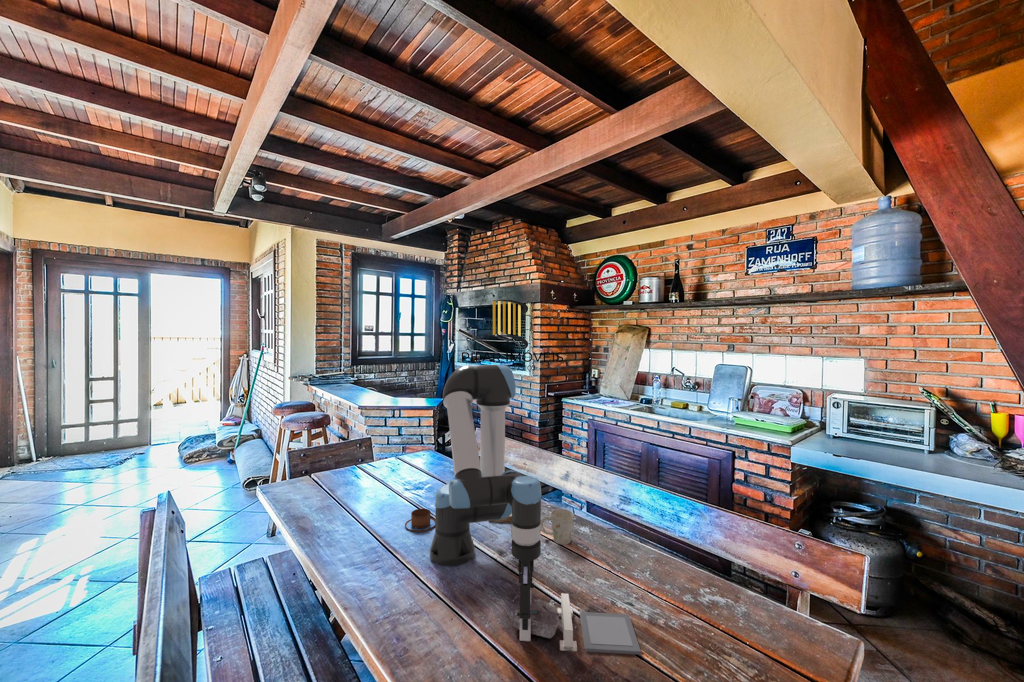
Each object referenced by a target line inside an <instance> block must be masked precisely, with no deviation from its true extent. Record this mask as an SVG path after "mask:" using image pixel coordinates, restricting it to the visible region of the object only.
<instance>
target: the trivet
mask: <svg viewBox="0 0 1024 682" xmlns="http://www.w3.org/2000/svg"><path fill="white" fill-rule="evenodd" d="M579 618H580V623H581V624H580V625H581V631H582V638H583V645H584V650H585V652H586V653H601V654H621V655H639V656H641V655H642V650H641V646H640V644H639V642H638V638H637V636H636V635H637V634H636V632H635V629H634V626H633V622H632V620H631V617H630V614H629V613H608V612H587V611H580V612H579Z"/></svg>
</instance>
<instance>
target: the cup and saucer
mask: <svg viewBox="0 0 1024 682" xmlns="http://www.w3.org/2000/svg"><path fill="white" fill-rule="evenodd" d="M431 514H432V513H431V510H430V509H429V508H417V509H414V510H412V511H411V517H410V519H408V520H406V522H405V523H404V524H405V525H404V526H405V529H406V530H408V531H410V532H414V533H422V532H423V533H425V532H428V531H430V530H432V529H434V528H435V525H433V526H431V527H429V526H430V524H431V520H432V521H433V522H434V523H435V518H434V517H431ZM410 522H411V526H412V527H413V528H414V529H409V528H408V527H407V525H408V523H410ZM428 527H429V528H428ZM426 528H427V529H426ZM415 529H418V530H415Z"/></svg>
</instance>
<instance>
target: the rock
mask: <svg viewBox="0 0 1024 682" xmlns="http://www.w3.org/2000/svg"><path fill="white" fill-rule="evenodd" d="M530 612H531V635H533V636H534V635H535V636H537V637H542V638H546V639H550V640H551V639H552V638H553V637H554V636H555V634H556V632H557V629H558V626H559V620H560V619H559V617H560V616H559V613H557V612H556V611H553V610H551V609H548V608H547V606H545V605H544V604H542V603H533V604H532V603H531V605H530ZM517 613H520V609H516V610H515V611H514V616H513V619H512V624H513V627H515V628H516V629H517V630H519V631H520V617H519V616H517Z"/></svg>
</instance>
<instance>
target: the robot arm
mask: <svg viewBox="0 0 1024 682" xmlns="http://www.w3.org/2000/svg"><path fill="white" fill-rule="evenodd" d="M516 393H517V388H516V380H515V376H514V374H513V371H512V369H511V367H509V365H502V364H485V365H484V364H483V365H482V364H481V365H479V364H478V365H471V364H469V365H463V366H461V367H459V368H458V369H457V368H456V369H455V370H454V371H453V372H452V373H451V374H450V376H449V377H448V378H447V379H446V383H445V384H444V387H443V391H442V403H443V407H445V408H446V409H447V410H446V411H447V418H448V428H449V435H450V444H451V453H452V454H451V455H452V464H453V470H454V471H453V472H454V479H451V480H450V481H449V483H446V484H445V485H443V486H441V487H439V488H438V490H437V491H436V493H435V499H434V500H435V503H434V507H435V518H434V519H435V522H434V526H435V527H434V528H435V529H434V531H435V533H434V536H433V539H432V541H431V546H430V548H429V559H430V560H431V561H432V562H433V563H434V564H436V565H440V566H444V567H456V566H460V565H464V564H466V563H469V561H471V560H473V558H474V556H475V555H476V554H475V551H476V550H475V549H476V547H475V544H474V539H473V537H472V534H471V533H472V532H471V531H470V529H471V527H470V526H471V524H473V523H484V522H494V521H493V520H496V521H497V520H500V519H505V518H508V517H509V516H512V522H510V523H511V532H510V533H511V555H512V557H513V558H515V559H516V560H518V563H517V571H518V583H519V584H520V585H519V588H520V589H519V596H520V597H519V610H520V613H517V616H519V617H520V630H519V642H520V641H521V642H531V641H532V640H531V635H532V634H531V612H530V605H532V589H534V587H535V584H534V583H533V573H534V569H535V568H534V563H535V562H534V561H535V560H537V559H538V558H539V557H540V556H541V553H542V551H541V550H542V549H541V548H542V541H541V531H542V532H543V527H544V526H543V527H540V526H541V519H542V515H541V514H542V486H541V485H542V483H541V481H540V479H538V478H537V477H534V476H531V475H522V474H521V473H519V472H518V471H517V470H514V469H507V470H506V471H505V467H506V466H505V465H506V461H505V460H506V459H505V458H506V456H505V455H506V453H505V452H506V450H505V449H506V409H507V408H508V407H509V406H510V404H511V403H510V402H511V401H510V400H511V399H514V398H515V397H516ZM474 400H475V401H476V402H475V403H476V405H477V406H478V407H479V409H480V438H479V439H480V440H479V441H480V443H479V444H480V445H479V447H480V450H479V448H478V442H477V436H476V431H475V425H474V423H475V422H474V418H473V417H474V416H473V411H472V403H474V402H473V401H474ZM479 451H480V452H479ZM479 453H480V455H479Z"/></svg>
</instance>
